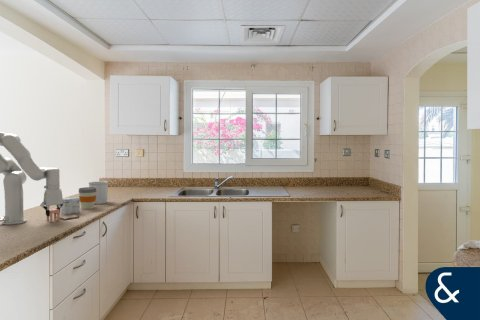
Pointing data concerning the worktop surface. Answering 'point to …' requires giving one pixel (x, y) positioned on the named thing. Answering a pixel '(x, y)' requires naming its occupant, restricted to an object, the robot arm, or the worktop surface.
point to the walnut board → (68, 217)
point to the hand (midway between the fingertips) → (53, 214)
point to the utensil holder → (100, 191)
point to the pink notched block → (54, 211)
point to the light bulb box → (71, 205)
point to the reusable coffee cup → (87, 197)
